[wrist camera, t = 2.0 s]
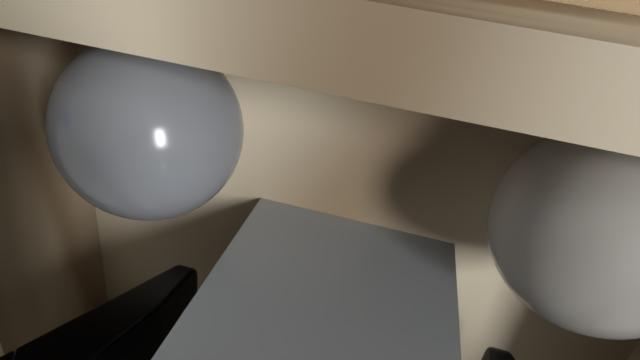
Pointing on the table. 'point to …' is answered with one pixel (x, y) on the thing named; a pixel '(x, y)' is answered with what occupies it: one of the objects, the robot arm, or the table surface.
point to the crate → (319, 138)
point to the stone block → (322, 294)
